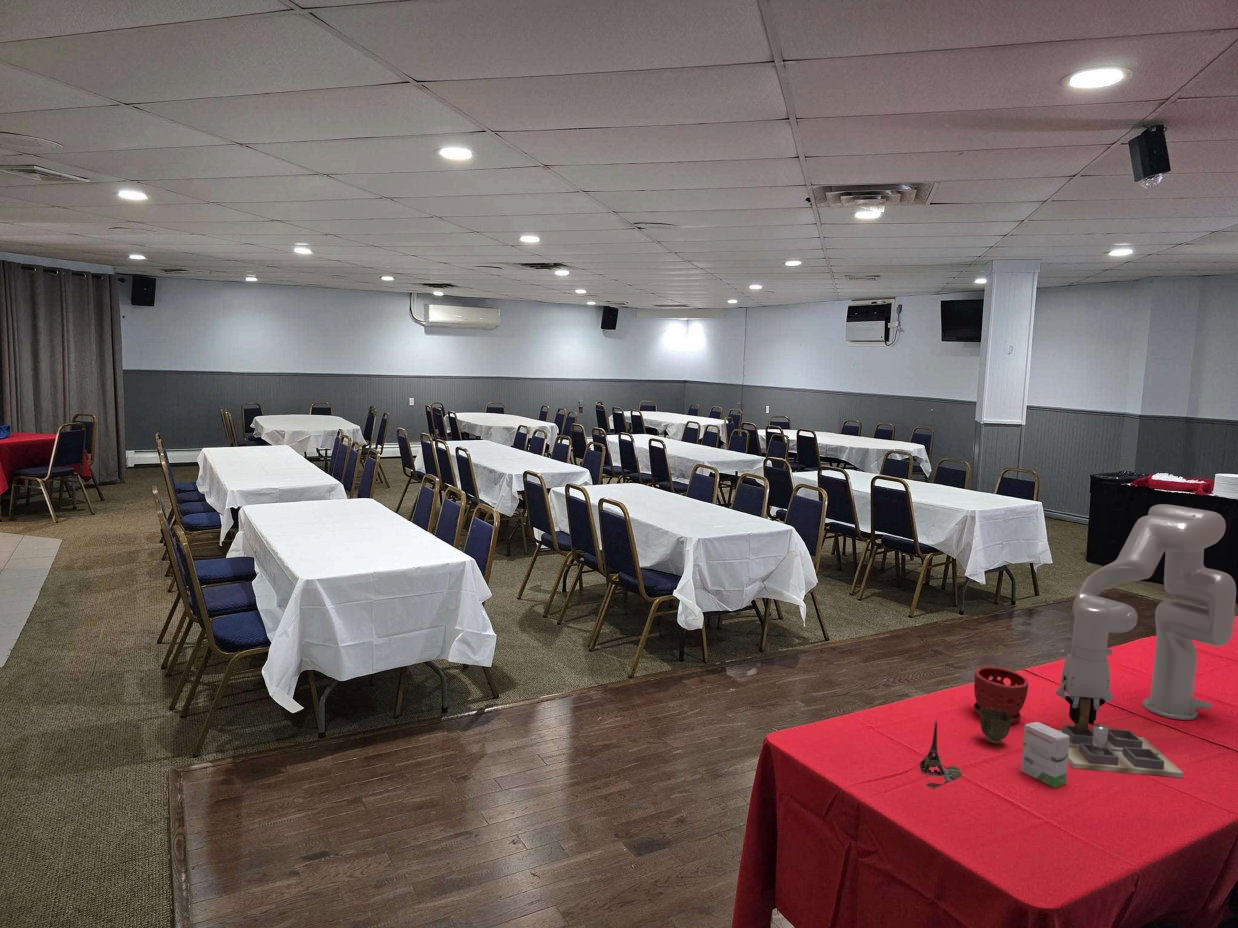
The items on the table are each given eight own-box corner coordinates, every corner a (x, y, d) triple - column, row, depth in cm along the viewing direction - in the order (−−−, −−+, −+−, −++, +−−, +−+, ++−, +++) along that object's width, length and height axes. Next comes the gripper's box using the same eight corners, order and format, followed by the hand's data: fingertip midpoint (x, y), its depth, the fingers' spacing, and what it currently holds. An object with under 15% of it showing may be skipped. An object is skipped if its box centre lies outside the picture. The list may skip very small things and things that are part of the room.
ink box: (1067, 784, 179) (1072, 735, 178) (1053, 788, 177) (1057, 739, 176) (1033, 766, 187) (1037, 719, 186) (1019, 770, 185) (1023, 723, 183)
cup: (1013, 751, 194) (1016, 720, 193) (981, 747, 196) (984, 717, 195) (1005, 737, 202) (1007, 708, 201) (974, 734, 203) (976, 704, 202)
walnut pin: (1085, 725, 200) (1088, 695, 199) (1090, 730, 197) (1093, 700, 196) (1072, 724, 201) (1075, 694, 200) (1077, 729, 198) (1080, 699, 197)
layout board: (1143, 741, 201) (1147, 707, 200) (1183, 777, 183) (1187, 740, 182) (1044, 733, 204) (1047, 699, 203) (1073, 767, 187) (1076, 731, 186)
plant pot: (972, 722, 210) (976, 679, 208) (970, 703, 222) (974, 663, 220) (1027, 731, 205) (1031, 688, 204) (1022, 711, 217) (1025, 670, 216)
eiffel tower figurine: (932, 791, 176) (937, 735, 174) (895, 771, 184) (898, 717, 183) (972, 774, 184) (976, 720, 182) (934, 755, 192) (938, 704, 191)
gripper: (1116, 649, 199) (1109, 718, 201) (1048, 644, 201) (1041, 712, 204) (1131, 660, 192) (1123, 731, 194) (1060, 655, 194) (1053, 725, 196)
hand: (1081, 721), depth 199 cm, fingers closed on walnut pin, 3 cm apart
